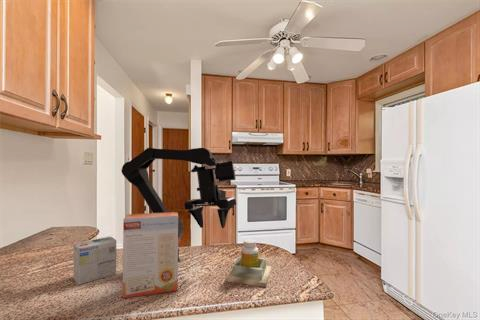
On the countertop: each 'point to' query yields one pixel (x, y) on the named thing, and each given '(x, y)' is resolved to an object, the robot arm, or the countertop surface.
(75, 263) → the light bulb box
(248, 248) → the supplement bottle
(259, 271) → the holder
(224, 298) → the countertop surface
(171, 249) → the cracker box
